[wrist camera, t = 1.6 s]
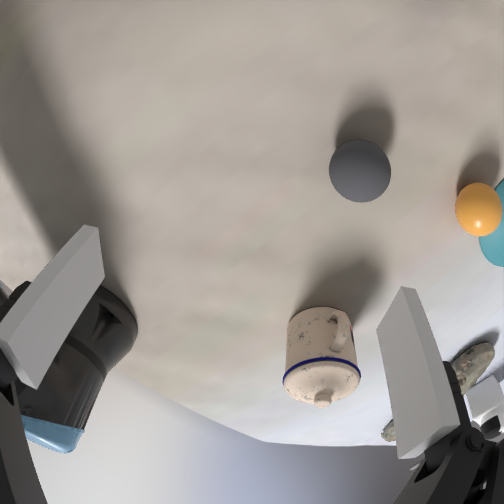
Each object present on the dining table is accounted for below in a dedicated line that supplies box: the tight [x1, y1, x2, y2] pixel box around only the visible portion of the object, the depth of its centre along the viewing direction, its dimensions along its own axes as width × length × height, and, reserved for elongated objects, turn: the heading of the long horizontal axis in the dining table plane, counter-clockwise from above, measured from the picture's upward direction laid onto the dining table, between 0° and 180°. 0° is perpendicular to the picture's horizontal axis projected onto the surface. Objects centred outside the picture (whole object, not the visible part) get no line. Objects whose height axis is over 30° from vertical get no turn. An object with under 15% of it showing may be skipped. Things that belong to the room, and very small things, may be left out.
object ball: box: [455, 183, 503, 236], centre depth 26 cm, size 6×6×6 cm
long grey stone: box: [381, 343, 495, 442], centre depth 49 cm, size 35×5×10 cm
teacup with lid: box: [283, 307, 361, 408], centre depth 35 cm, size 12×9×12 cm
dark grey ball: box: [329, 140, 391, 202], centre depth 26 cm, size 6×6×6 cm
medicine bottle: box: [465, 375, 504, 439], centre depth 43 cm, size 7×7×12 cm
